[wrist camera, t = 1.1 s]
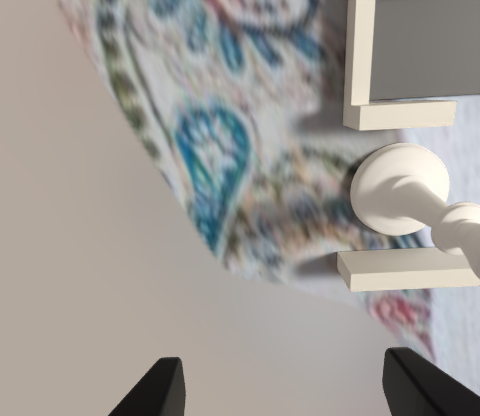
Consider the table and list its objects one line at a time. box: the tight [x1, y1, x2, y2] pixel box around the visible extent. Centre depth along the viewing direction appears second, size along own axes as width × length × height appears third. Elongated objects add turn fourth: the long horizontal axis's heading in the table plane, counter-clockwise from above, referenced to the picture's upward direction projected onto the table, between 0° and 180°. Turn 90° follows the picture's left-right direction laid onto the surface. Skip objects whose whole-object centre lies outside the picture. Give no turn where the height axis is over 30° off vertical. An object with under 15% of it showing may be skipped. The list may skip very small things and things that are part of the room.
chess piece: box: [350, 143, 480, 279], centre depth 13 cm, size 5×5×10 cm
